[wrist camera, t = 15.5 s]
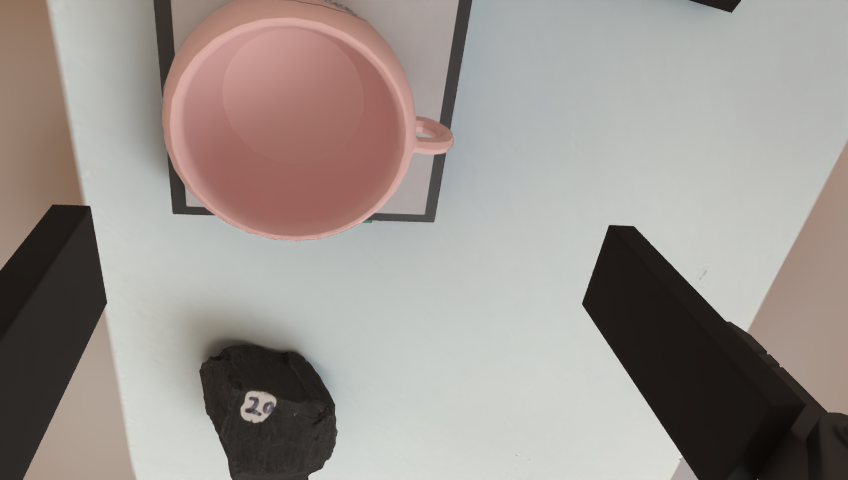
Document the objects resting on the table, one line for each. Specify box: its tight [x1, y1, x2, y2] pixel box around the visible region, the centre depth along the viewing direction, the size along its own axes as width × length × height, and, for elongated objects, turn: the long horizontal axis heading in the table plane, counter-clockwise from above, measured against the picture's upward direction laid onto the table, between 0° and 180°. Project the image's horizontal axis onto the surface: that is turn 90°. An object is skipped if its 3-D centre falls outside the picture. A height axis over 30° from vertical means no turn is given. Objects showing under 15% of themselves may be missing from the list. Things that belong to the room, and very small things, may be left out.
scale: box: [154, 0, 472, 223], centre depth 29 cm, size 14×14×3 cm
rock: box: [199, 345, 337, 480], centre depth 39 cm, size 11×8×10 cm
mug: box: [161, 0, 454, 241], centre depth 25 cm, size 12×10×6 cm
